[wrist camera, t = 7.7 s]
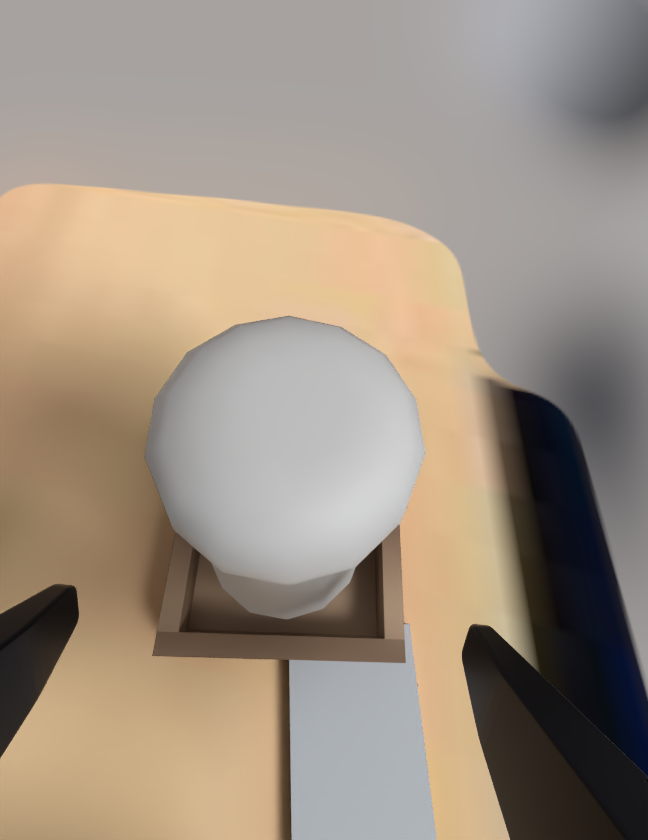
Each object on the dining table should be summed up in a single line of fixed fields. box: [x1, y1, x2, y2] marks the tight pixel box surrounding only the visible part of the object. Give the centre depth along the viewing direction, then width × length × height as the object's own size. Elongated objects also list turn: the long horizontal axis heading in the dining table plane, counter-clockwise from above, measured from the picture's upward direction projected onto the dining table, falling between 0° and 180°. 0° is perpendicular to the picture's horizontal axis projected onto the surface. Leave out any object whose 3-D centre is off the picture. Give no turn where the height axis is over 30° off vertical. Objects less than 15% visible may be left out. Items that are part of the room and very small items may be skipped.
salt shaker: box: [145, 316, 425, 619], centre depth 11 cm, size 6×6×13 cm
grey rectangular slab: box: [289, 623, 437, 840], centre depth 15 cm, size 7×5×1 cm
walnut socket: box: [152, 525, 406, 663], centre depth 17 cm, size 9×9×2 cm
